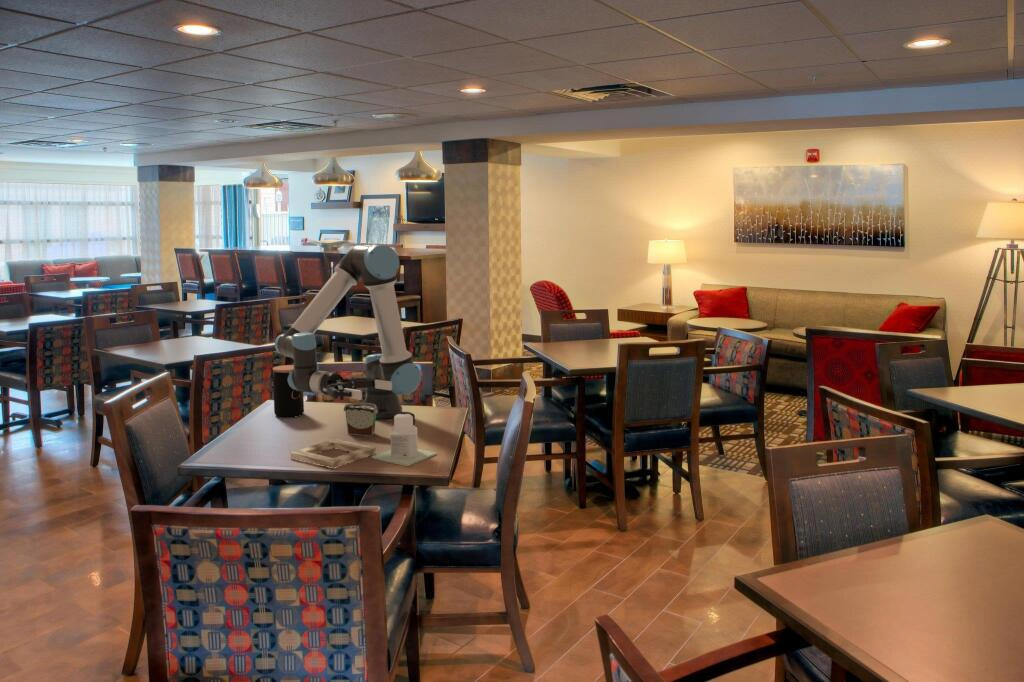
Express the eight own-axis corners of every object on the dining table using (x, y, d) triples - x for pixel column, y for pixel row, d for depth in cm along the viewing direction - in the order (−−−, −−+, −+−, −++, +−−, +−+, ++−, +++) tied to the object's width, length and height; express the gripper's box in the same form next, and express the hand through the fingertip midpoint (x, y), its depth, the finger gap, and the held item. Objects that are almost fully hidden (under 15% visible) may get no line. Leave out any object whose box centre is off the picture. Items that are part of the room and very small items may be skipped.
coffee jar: (295, 419, 278) (293, 370, 276) (269, 417, 281) (266, 369, 278) (309, 412, 289) (307, 365, 286) (283, 410, 291) (281, 364, 288)
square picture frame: (334, 444, 246) (334, 438, 246) (375, 454, 236) (375, 447, 236) (290, 458, 231) (290, 452, 231) (333, 469, 221) (333, 462, 221)
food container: (385, 432, 261) (384, 404, 260) (376, 437, 255) (375, 408, 254) (353, 429, 265) (352, 401, 264) (344, 433, 259) (343, 405, 258)
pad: (402, 447, 243) (402, 445, 243) (436, 454, 236) (436, 452, 236) (371, 458, 232) (371, 456, 232) (407, 466, 224) (407, 464, 224)
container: (392, 451, 237) (392, 410, 235) (417, 450, 238) (417, 410, 236) (390, 458, 230) (390, 416, 228) (416, 458, 230) (416, 416, 228)
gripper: (355, 386, 258) (403, 393, 247) (298, 403, 237) (347, 411, 226) (354, 365, 257) (402, 371, 245) (296, 379, 236) (346, 386, 225)
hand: (376, 390), depth 236 cm, fingers open, 13 cm apart
